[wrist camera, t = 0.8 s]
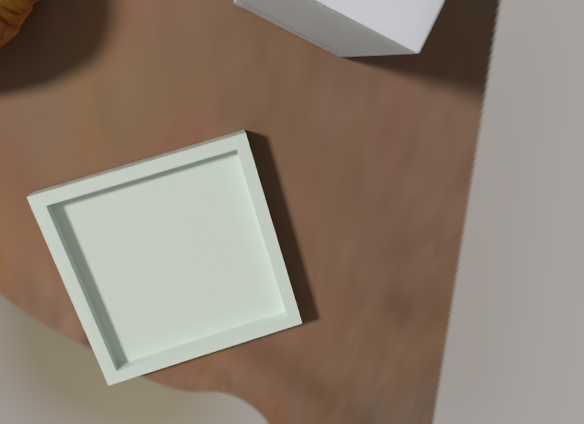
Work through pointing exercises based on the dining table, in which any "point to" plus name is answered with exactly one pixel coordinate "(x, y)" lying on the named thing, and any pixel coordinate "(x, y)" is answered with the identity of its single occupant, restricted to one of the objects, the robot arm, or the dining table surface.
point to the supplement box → (353, 23)
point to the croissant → (13, 17)
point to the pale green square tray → (169, 256)
